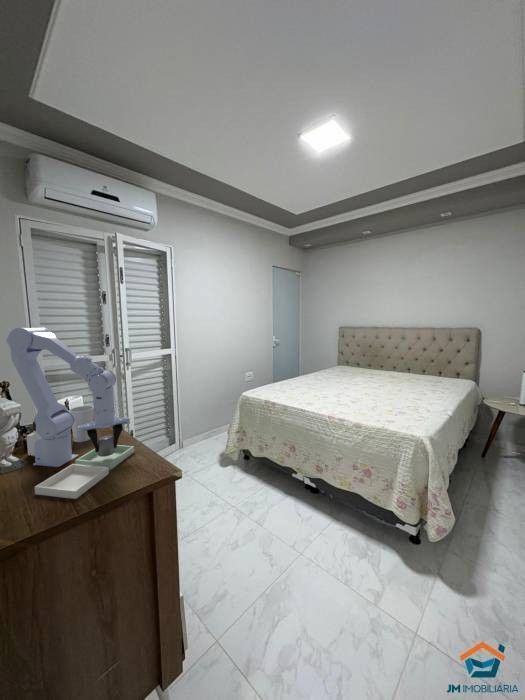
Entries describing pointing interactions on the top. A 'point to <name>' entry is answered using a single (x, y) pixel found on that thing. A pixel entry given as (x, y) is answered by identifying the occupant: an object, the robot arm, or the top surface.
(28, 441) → the medicine bottle
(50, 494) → the bin
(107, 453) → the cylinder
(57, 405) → the robot arm
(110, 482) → the top surface
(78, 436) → the cup
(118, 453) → the bin
